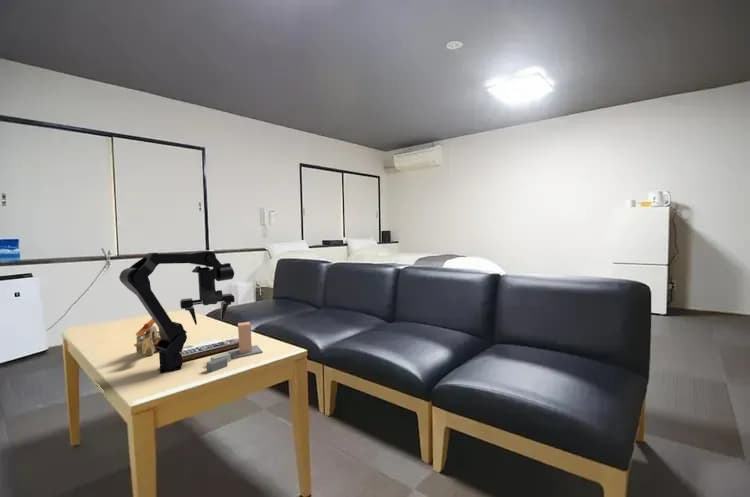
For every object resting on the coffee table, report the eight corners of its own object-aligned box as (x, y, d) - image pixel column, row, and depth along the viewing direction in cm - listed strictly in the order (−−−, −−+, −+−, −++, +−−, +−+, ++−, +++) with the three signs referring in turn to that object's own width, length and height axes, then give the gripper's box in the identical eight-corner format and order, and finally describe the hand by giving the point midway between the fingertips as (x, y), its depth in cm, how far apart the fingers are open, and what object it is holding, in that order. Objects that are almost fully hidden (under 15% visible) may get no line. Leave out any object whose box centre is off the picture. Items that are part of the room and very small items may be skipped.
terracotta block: (239, 353, 138) (238, 325, 137) (239, 350, 142) (237, 323, 141) (251, 351, 139) (250, 324, 139) (251, 348, 143) (249, 321, 143)
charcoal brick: (211, 372, 122) (211, 364, 121) (206, 371, 123) (206, 362, 123) (227, 366, 127) (227, 358, 126) (222, 365, 128) (222, 357, 128)
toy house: (167, 347, 150) (165, 315, 150) (153, 364, 131) (151, 327, 130) (145, 349, 148) (143, 317, 147) (127, 367, 128) (125, 330, 127)
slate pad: (233, 358, 134) (233, 357, 134) (228, 352, 141) (228, 350, 141) (262, 352, 140) (262, 351, 140) (256, 346, 147) (256, 345, 147)
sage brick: (215, 366, 127) (214, 358, 127) (211, 365, 129) (210, 357, 129) (230, 361, 132) (230, 353, 131) (226, 359, 133) (226, 352, 133)
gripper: (180, 288, 125) (183, 331, 126) (236, 282, 135) (238, 322, 136) (178, 284, 134) (181, 325, 135) (230, 279, 144) (232, 317, 145)
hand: (209, 322), depth 138 cm, fingers open, 9 cm apart
